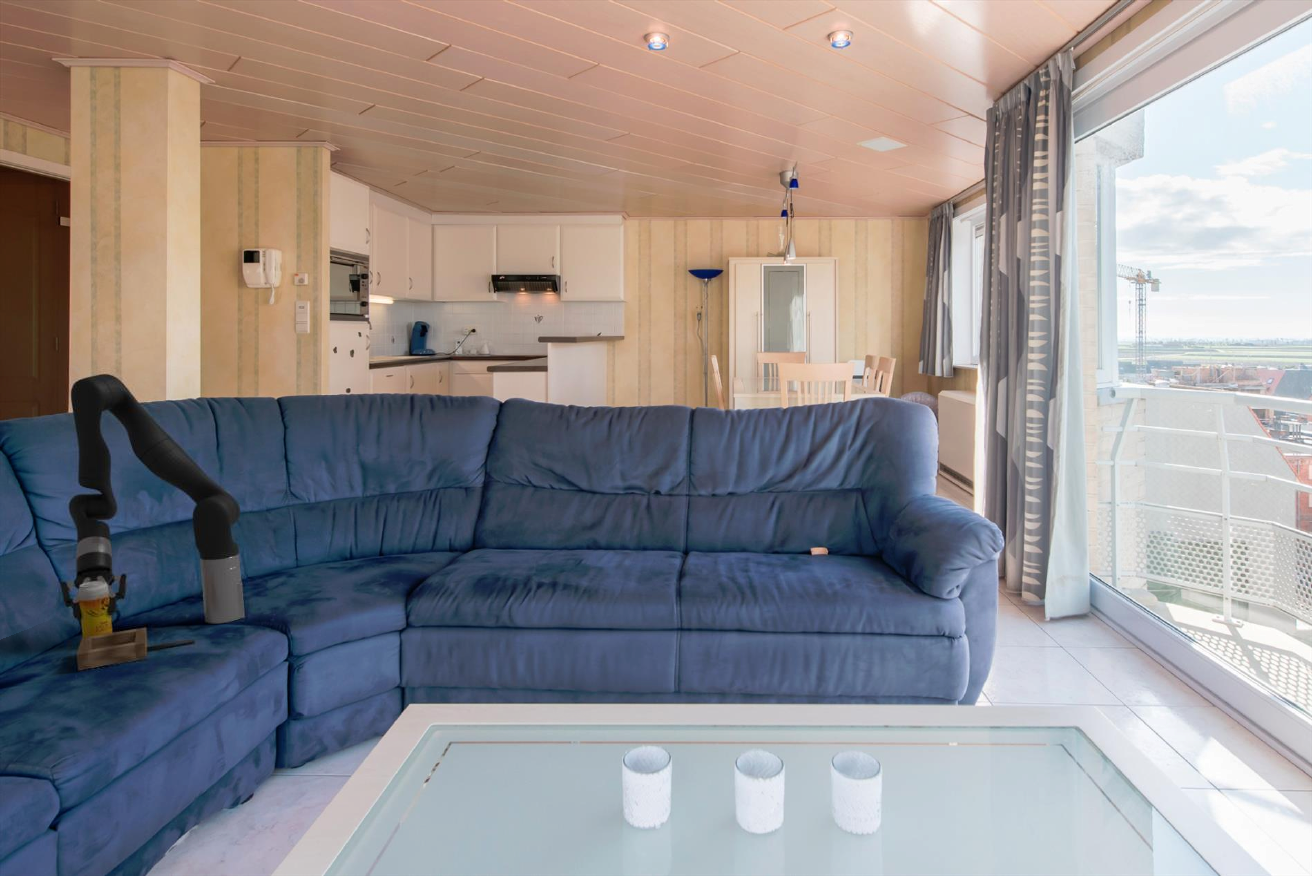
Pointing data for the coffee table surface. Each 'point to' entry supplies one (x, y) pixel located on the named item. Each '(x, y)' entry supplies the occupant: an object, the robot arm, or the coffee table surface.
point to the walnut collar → (116, 648)
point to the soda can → (94, 608)
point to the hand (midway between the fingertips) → (95, 615)
